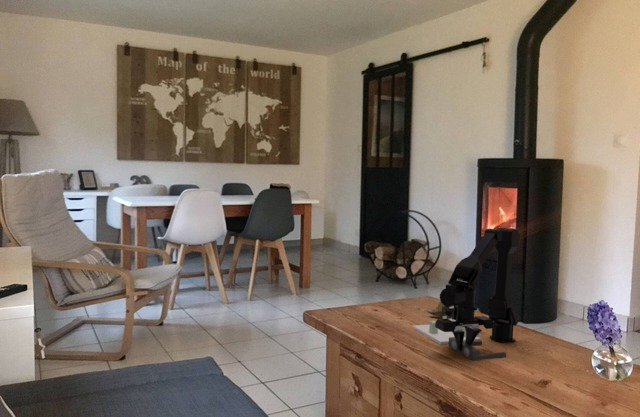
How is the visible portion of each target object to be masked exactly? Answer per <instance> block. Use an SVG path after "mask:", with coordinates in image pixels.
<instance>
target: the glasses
mask: <svg viewBox="0 0 640 417" xmlns="http://www.w3.org/2000/svg"><path fill="white" fill-rule="evenodd" d="M480 345H481V346H482V345H483V341H482V339H481V340H476V341H473V343H472V344H471V345H469V344H467V343H466V341H464V342H463V346H462V349H461V350H459V349H458V346H457V343H456V340H455V337H450V338H449V344H448V347H449V348H451V349H453V350H454V351H456V352H457V353H460V354H461V355H463V356H464V357H466V358H468V359H470V360H471V361H480V360H489V359H490V360H491V359H500V358H507V353H506V352H504V351H503V352H493V353H491V352H490V353H482V354H481V352H480V351H481V350H480V349H478V348H476V347H475V346H480Z"/></svg>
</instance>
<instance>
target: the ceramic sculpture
mask: <svg viewBox="0 0 640 417" xmlns="http://www.w3.org/2000/svg"><path fill="white" fill-rule="evenodd" d="M443 306H444V305H443V304H442V303H441V301H440V302H439V303H438V305H437V307H435V308H436V309H432V310H427V311H426V313H428V314H430V315H431V316H434V317H441V318H443V316H442V307H443ZM449 308H454V306H451V307H449Z"/></svg>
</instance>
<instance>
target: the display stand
mask: <svg viewBox="0 0 640 417" xmlns="http://www.w3.org/2000/svg"><path fill="white" fill-rule="evenodd" d="M446 318H447V316H443V317H442V319H446ZM449 320H451V321H456V320H453V319H452V318H450V319H449ZM436 321H437V320H429V323H428V324H418V325H417V324H415V325H412V329H413V330H414V331H416V332H418V333H420V334H421V335H422V336H425V337H427V338H428V339H430V340H432V341H434V342H435V343H436V344H439V345H440V346H443V345H449V338H450V337H454V335H453V333H452V332H443V331H441V330H439V329H438V328H436V327H435V322H436ZM462 324H463V323H462ZM462 331H464V332H465V333H464V339H463V342H464V341H466V330H465V327H462ZM476 340H481V341H482V338H481V337H479V336H478V335H477V336H476V338H475V339H474V341H476Z"/></svg>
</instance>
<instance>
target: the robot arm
mask: <svg viewBox="0 0 640 417" xmlns="http://www.w3.org/2000/svg"><path fill="white" fill-rule="evenodd" d="M520 234H521V233H520V232H518V229H516V228H509V227H501V226H500V227H499V226H498V227H497V228H487V229H485V231H484V234H483V236H482V237H481V239H480V240H479V241H478V243H477V244H476V246H475V247H474V249H473V250H472V251H471V253H470V254H469V255H468V256H466V257H465V258H463V259H461V260H460V261H459V262H458V263H457V264H456V266H455V267H454V270H453V271H452V274H451V275H450V278H449V280H448V284H445V288H444V289H442V290H441V292H440V294H439V300H440V302H441V303H442V304H443V305H444V306H443V307H442V316H447V318H446V319H443V318H438V319H437V320H435V321H436V322H435V327H436V328H438V329H439V330H441V331H443V332H452V333H453V335H454V337H455V340H456V343H457V346H458V349H459V350H461V349H462V346H463V339H464V333H465V332H464V331H462V327H465V330H466V343H467V344H469V345H471V344H472V343H473V341H474V339H475V338H476V336H477V337H478V335H479V334H480V333H482V332H483V331H482V329H481V328H480V326H483V327H484V328H485V329H486V330H490V329H491V335H489V338H490V339H493V340H495V341H497V342H498V343H509V342H510V343H511V342H516V338H514V326H517V325H518V323H519V320H520V319H519V318H520V317H519V316H518V314H517V313H516V310H515V303H514V302H515V301H513V299H512V297H511V284H512V283H511V280H512V269H513V256H514V255H513V254H515V251H516V250H517V248H518V247H519V245H520V244H519V243H520V240H521V235H520ZM494 249H495V250H496V252H497V260H496V261H497V262H496V274H495V276H496V277H495V285H494V286H495V287H494V288H495V289H494V294H493V295H492V297H489V298H488V300H487V301H488V302H487V304H488V305H487V315H488V316H485V315H480V316H475V311H478V306H476V289H478V288H480V285H479V284H478V283H477V282H478V281H479V280H480V277H481V276H482V273H483V264H484V263H485V262H486V260H487V259H488V257H489V256H490V254H491V253H492V251H493V250H494ZM451 306H454V308H449V307H451ZM442 316H441V317H442ZM450 318H452V319H453V320H456V321H451V320H449V319H450ZM462 323H463V324H462Z"/></svg>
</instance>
